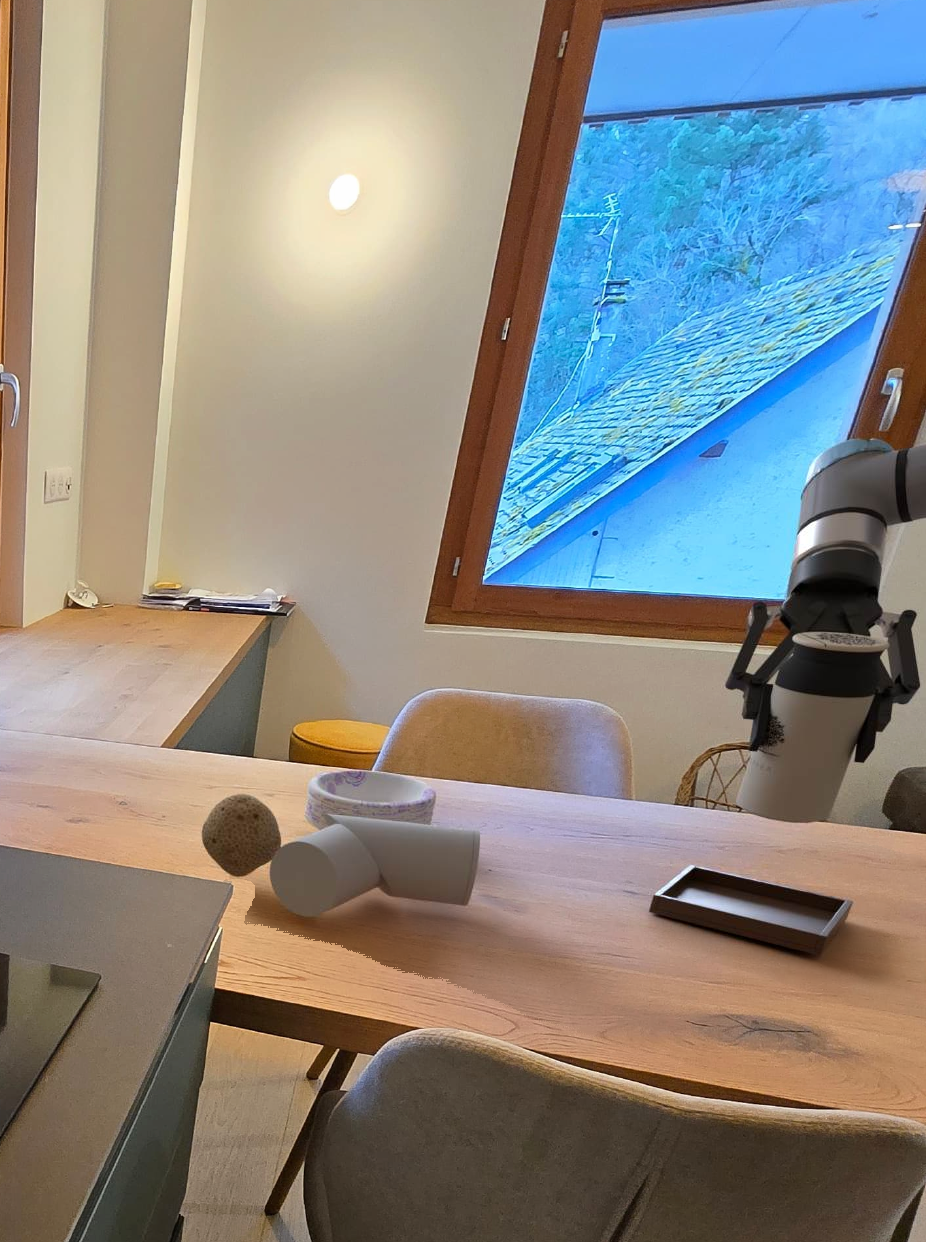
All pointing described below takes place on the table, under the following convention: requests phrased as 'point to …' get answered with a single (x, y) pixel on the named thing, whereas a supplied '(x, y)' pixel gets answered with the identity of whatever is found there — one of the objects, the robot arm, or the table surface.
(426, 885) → the l-shaped cylinder
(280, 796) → the table surface
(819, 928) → the tray
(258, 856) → the natural sponge
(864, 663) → the travel mug
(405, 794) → the paper bowls
